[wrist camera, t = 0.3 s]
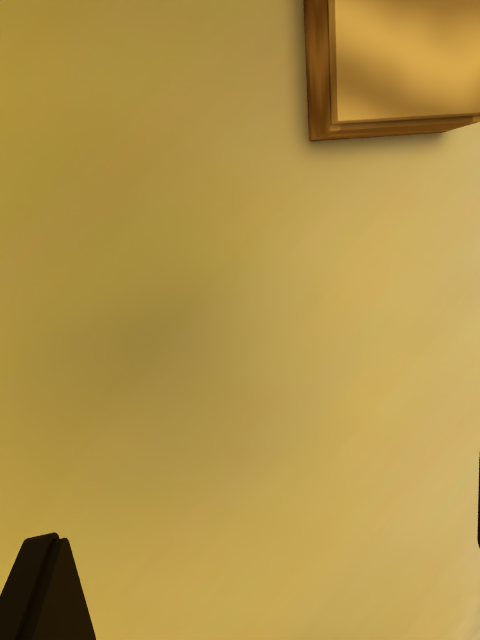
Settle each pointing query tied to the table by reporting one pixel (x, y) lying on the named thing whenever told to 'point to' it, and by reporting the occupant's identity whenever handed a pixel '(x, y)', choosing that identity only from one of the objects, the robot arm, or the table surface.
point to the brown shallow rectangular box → (321, 91)
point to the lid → (404, 59)
